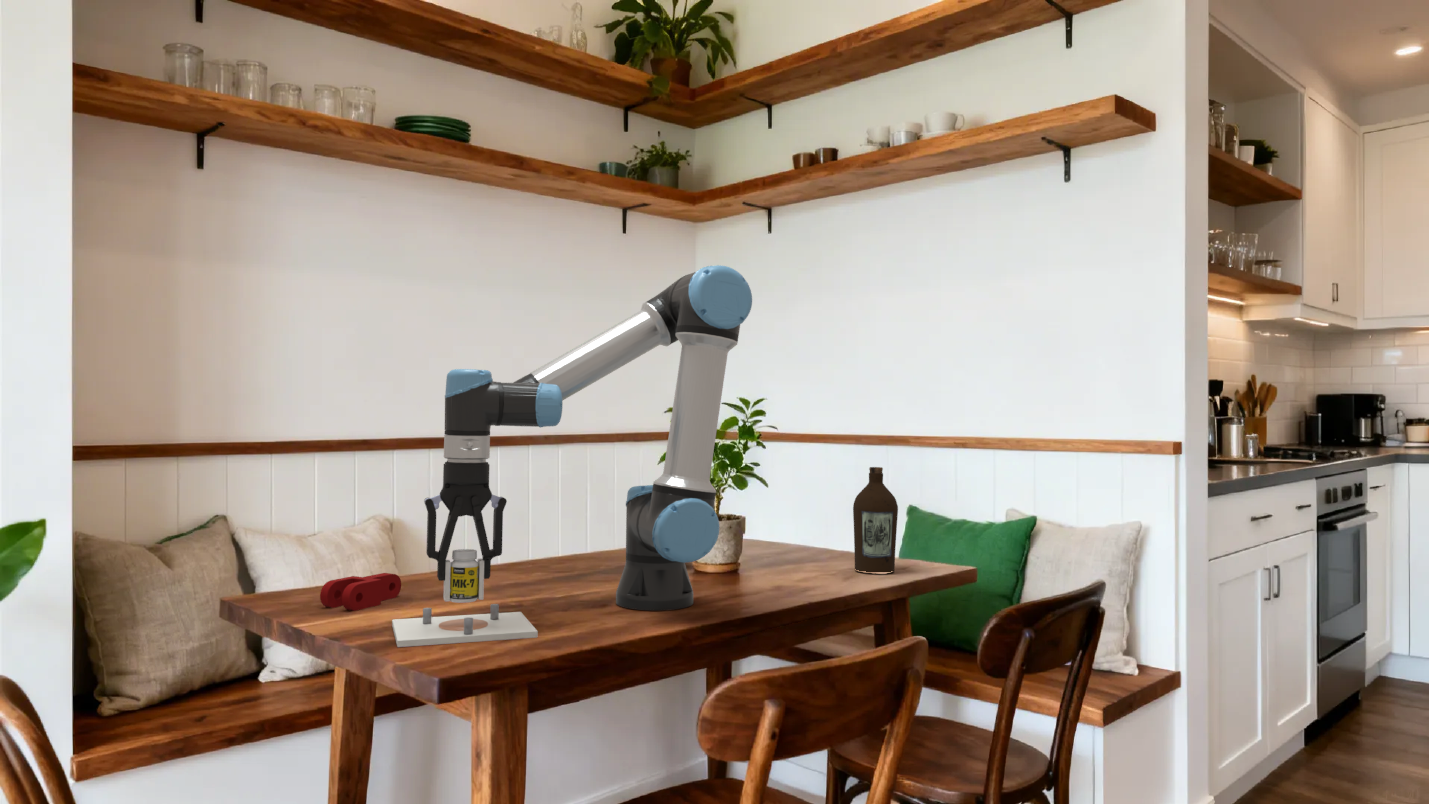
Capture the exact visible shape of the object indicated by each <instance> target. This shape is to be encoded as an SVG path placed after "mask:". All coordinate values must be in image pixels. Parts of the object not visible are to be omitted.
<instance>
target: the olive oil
mask: <svg viewBox="0 0 1429 804" xmlns="http://www.w3.org/2000/svg"><path fill="white" fill-rule="evenodd" d="M868 470H869V472H868V483H867V484H866V486H865V487H863V489H862V490H861V491H860V492H859V493H858V494H857V495H856V497H855V499H854V501H853V504H852V505H853V507H852V511H853V512H852V517H853V540H854V541H853V542H854V543H853V546H854V570H855V569H856V570H859V571H866V572H891V571H894V572H895V567H896V565H895V563H896V544H897V529H898V527H897V526H898V516H899V515H898V513H899V505H898V502H897V499H896V497H895V496H894V495H893V493H892V492H891V491H890V490H889V489H888V488H887V487H886V485H885V484H884V473H883V470H884V468H883V467H881V466H870V467H869V468H868Z"/></svg>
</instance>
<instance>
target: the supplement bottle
mask: <svg viewBox="0 0 1429 804" xmlns="http://www.w3.org/2000/svg"><path fill="white" fill-rule="evenodd" d="M451 553H452V556H451V559H452V561H450V562H451V569H450V601H449V602H452V603H459V604H461V603H462V604H463V603H472V602H474V603H475V602H476V601H477V600H479V599H478V574H479V564H478V551H477V549H472V548H460V549H453V550H452V552H451Z"/></svg>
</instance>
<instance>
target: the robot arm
mask: <svg viewBox="0 0 1429 804" xmlns="http://www.w3.org/2000/svg"><path fill="white" fill-rule="evenodd" d="M752 306H753V294H752V289H751V287H750V285H749V283H748V282H747V280H746V278H744V276H743V275H742V274H741V273H740V272H739V271H737V270H736V269H734V268H732V267H730V266H727V265H719V264H717V265H710V266H709V265H708V266H703V267H702V268H700V269H698V270H697V271H694V272H692V273H688V274H685V275H684V276H681V277H680V278H678V279H676V280H675V281H674V282H673V283H671V284H670V285H669V286H668V287H666V288H665V289H664V290H662V291H660V292H659V293H658V294H656V295H654V296H653V297H651V298H650V299H649V300H647V301H645V302H643V303H642V305H641V308H640V311H638V312H636V313H634V314H632V315H631V316H629V317H627V318H625V319H624V320H622V321H620V322H618V323H617V324H614V325H613V326H611V327H609V328H608V329H606V330H604V331H602V332H600V333H599V334H597V335H595V336H593V337H592V338H590V339H588V340H585V341H584V342H583V343H581V344H580V345H577V346H575V347H574V348H572V349H570V350H569V351H566V352H565V353H563V354H561V355H559V356H558V357H556V358H554V359H553V360H550V361H549V362H547V363H545V364H544V365H542V366H540V367H538V368H536V369H534V370H533V371H531V372H530V373H529V374H527V375H524V376H522V377H520V378H519V379H517V380H515V381H512V382H501V381H494V380H493V379H494V378H493V377H492V372H491V371H490V370H486V369H471V368H470V369H469V368H456V369H451V370H450V371H449V372H447V374H446V380H445V383H446V384H445V395H444V437H443V439H444V441H443V458H444V459H446V461H445V462H444V463H443V471H442V474H443V475H442V488H441V491H440V492H439V494H437V495H434V496H432V497H426V498H424V500H423V502H424V505H425V506H424V507H425V508H426V511H427V522H426V523H427V524H426V551H425V552H426V555H427V557H428V558H429V559H433V560H435V561H437V575H436V578H437V579H438V581H439V582H440V581H443V595H442V596H443V597H442V599H443V601H444V602H451V601H450V569H451V562H452V561H451V560H450V559H447V557H448V553H449V550H450V547H451V543H452V540H453V536H454V534H455V533H454V531H455V528H456V525H457V522H458V519H459V517H464V516H469V517H472V518H473V521H474V525H475V530H476V531H475V532H476V535H477V540H478V544H479V548H480V551H481V556H482V558H477V562H478V564H479V574H478V599H477V600H479V601H480V600H482V601H483V600H484V595H485V593H484V590H485V589H484V588H485V587H484V586H485V584H484V583H485V580H487V579H490V577H491V568H492V567H491V565H492V563H491V562H492V559H494V558H496V557H501V556H502V555H503V554H502V553H503V529H504V528H503V526H504V524H503V522H504V521H503V520H504V519H503V518H504V510H505V508H506V505H507V499H506V498H505V497H503V496H499V495H498V496H497V495H494V494H492V491H491V488H490V463H489V462H487V460H488V459H490V457H491V456H490V451H491V450H490V449H491V447H490V446H491V444H490V443H491V426H495V427H500V426H502V427H503V426H504V427H505V426H506V427H539V428H545V427H556V426H558V425H559V424H560V422H561V419H562V415H563V401H564V400H566V399H569V398H570V397H572V396H574V395H575V394H577V393H579V392H580V391H582V390H584V389H585V388H587V387H589V386H591V385H593V384H594V383H596V382H597V381H599V380H601V379H603V378H604V377H606V376H608V375H610V374H612V373H613V372H615V371H617V370H619V369H620V368H622V367H624V366H625V365H627V364H630V363H631V362H632V361H634V360H636V359H637V358H640V357H641V356H643V355H644V354H646V353H648V352H650V351H652V350H653V349H655V348H657V347H658V346H664V347H668V346H670V345H672V344H674V343H676V342H678V341H679V343H680V344H681V345H680V346H681V351H680V357H679V363H678V364H679V365H678V371H677V376H676V377H677V378H676V384H675V391H674V396H673V397H674V399H673V404H672V410H671V411H672V412H671V419H670V423H669V424H670V425H669V432H668V439H667V444H666V452H665V458H664V459H665V460H664V466H663V473H662V474H661V475H660V476H659V477H658V478H656V479H655V480H654V481H653V483H652V484H651V485H650V484H649V485H647V484H646V485H635V486H631V487H629V489H628V490H627V494H626V500H625V507H626V509H625V511H626V514H625V515H626V520H625V523H626V525H625V526H626V528H625V564H624V568H623V570H622V574H621V576H620V579H619V582H618V585H617V588H616V592H615V604H616V605H617V606H620V607H622V608H626V609H631V610H639V611H671V610H672V611H673V610H678V609H679V610H680V609H685V608H689V607H692V606H693V604H694V589H693V587H692V583H691V579H690V576H689V573H688V569H687V566H686V564H687V563H693V562H696V561H698V560H701V559H702V558H703V557H705V556H707V555H708V554H709V553H710V552H711V551H712V550H713V548H715V545H716V543H717V541H718V539H719V535H720V520H719V517H718V514H717V513H716V510H715V501H716V496H717V495H716V494H717V490H716V489H715V487H714V486H713V485H712V482H711V481H710V480H711V479H710V477H711V470H712V464H713V457H714V451H715V450H714V449H715V442H716V438H717V429H718V425H719V415H720V408H721V403H722V395H723V388H724V382H725V381H724V380H725V374H726V369H727V368H726V366H727V360H728V354H729V352H730V351H731V350H732V349H734V348H735V347H736V346H737V345H738V344H739V337H740V336H739V335H740V328H741V324H743V323H744V322H745V321H746V319H747V318H748V316H749V314H750V313H751V311H752ZM440 502H442V503H443V504H444V505H445V507H446V509H447V510H448V511H449V512H448V515H447V520H446V524H445V528H444V531H443V535H442V537H441V538H442V539H441V540H440V541H441V542H440V545H439V548H438V549H439V550H438V551H437V550H436V545H437V544H436V538H437V510H438V509H439V507H440ZM489 502H491V508H493V518H492V519H493V522H492V523H493V524H492V526H493V527H492V528H493V529H492V548H491V549H490V545H489V540H488V536H487V531H486V527H485V522H484V517H483V513H482V511H483V510H484V508H485V507H486V506H487V504H488V503H489Z"/></svg>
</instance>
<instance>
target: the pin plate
mask: <svg viewBox="0 0 1429 804" xmlns="http://www.w3.org/2000/svg"><path fill="white" fill-rule="evenodd" d="M499 607H500V604H499V603H491V604H490V610H489V611H490V613H475V614H461V615H460V614H459V615H458V614H457V615H446V616H445V615H444V616H442V615H441V616H432V613H433V612H432V609H433V608H432V607H423V608H422V617H412V618H410V617H409V618H396V619H392V620H391V627H392V631H393V634H394V635H393V636H394V639H395V643H396V644H395V645H396V647H397V648H404V647H405V648H407V647H420V646H432V645H433V646H435V645H445V644H446V645H447V644H450V645H451V644H459V643H460V644H463V643H477V642H478V643H479V642H490V641H492V642H493V641H505V640H506V641H508V640H519V639H520V640H521V639H535V638H538V636H539V635H538V634H539V633H538V632H539V631H538V630H537V628H535V626H534V625H533V624H532V623H531V622H530V620H529V619H527V617H526V616H525V615H524V614H523V613H522V611H513V612H500V611H499V610H500V608H499Z"/></svg>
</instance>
